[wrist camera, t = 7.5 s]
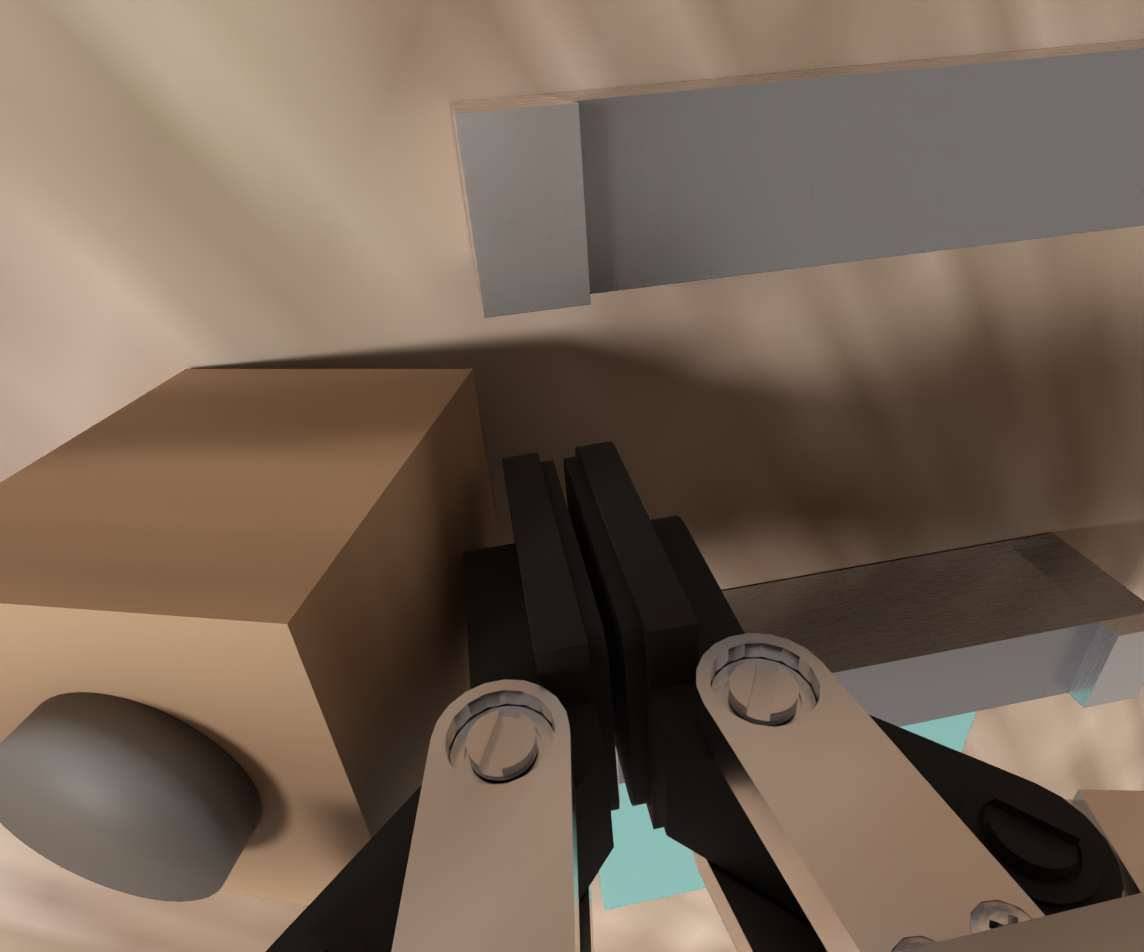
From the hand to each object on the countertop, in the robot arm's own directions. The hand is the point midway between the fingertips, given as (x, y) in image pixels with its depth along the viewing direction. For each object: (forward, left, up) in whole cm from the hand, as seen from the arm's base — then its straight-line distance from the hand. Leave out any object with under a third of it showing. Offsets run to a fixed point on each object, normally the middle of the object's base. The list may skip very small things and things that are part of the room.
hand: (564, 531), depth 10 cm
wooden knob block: (0, -3, -1) cm, 3 cm away
